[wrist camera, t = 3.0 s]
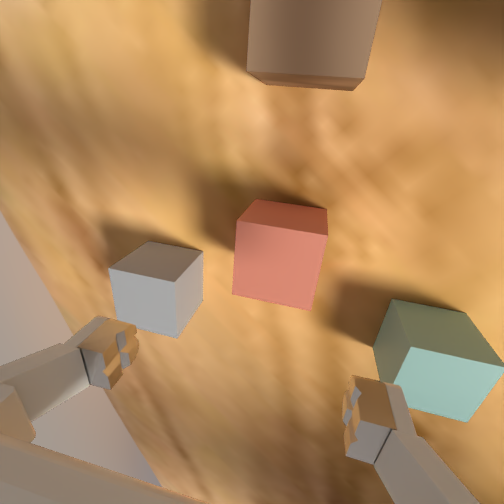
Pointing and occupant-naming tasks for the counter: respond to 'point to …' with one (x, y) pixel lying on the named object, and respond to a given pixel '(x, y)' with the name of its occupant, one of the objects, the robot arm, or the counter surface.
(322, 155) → the counter surface
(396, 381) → the muted teal block
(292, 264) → the brick-red block
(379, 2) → the walnut block
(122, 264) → the slate grey block
